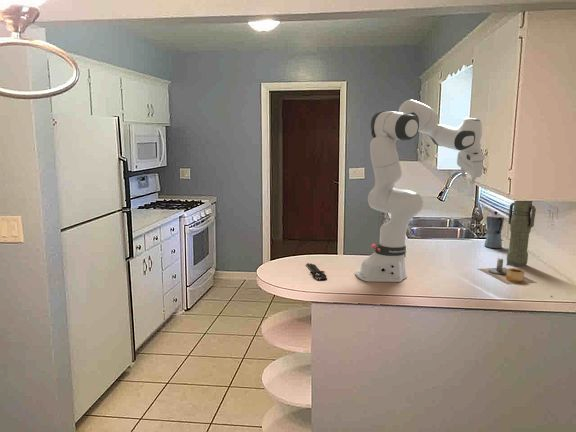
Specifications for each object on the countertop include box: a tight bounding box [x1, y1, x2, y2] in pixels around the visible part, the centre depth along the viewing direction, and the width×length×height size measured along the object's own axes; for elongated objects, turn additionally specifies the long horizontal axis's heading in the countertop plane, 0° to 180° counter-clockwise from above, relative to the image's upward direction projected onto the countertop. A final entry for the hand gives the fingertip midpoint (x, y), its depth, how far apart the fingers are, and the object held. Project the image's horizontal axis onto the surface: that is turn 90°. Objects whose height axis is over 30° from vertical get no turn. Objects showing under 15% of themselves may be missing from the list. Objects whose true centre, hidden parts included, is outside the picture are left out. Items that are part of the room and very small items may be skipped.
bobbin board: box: [477, 258, 538, 285], centre depth 211 cm, size 14×22×8 cm, turn 11°
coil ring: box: [506, 267, 526, 282], centre depth 206 cm, size 7×7×4 cm
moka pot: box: [484, 211, 505, 249], centre depth 266 cm, size 10×15×20 cm, turn 2°
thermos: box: [506, 200, 537, 267], centre depth 228 cm, size 9×12×35 cm
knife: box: [305, 262, 328, 282], centre depth 219 cm, size 26×7×1 cm, turn 6°
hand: (467, 180), depth 230 cm, fingers open, 8 cm apart
